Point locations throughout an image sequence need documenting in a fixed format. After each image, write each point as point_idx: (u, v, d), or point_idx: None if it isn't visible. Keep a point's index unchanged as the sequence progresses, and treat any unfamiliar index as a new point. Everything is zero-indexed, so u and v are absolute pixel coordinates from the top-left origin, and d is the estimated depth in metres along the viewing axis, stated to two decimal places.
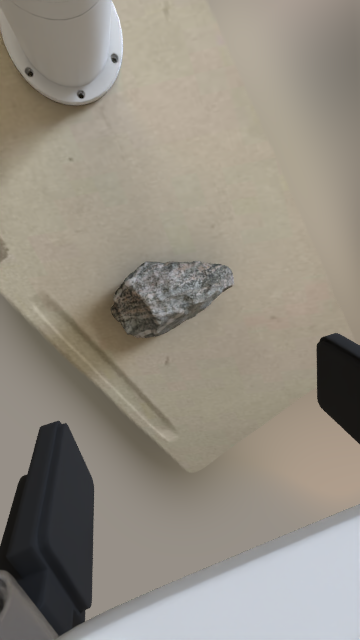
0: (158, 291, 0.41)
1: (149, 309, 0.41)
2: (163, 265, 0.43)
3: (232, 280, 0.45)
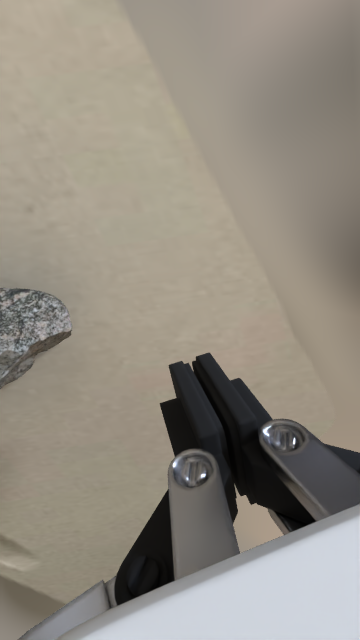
0: None
1: None
2: None
3: (64, 322, 0.22)
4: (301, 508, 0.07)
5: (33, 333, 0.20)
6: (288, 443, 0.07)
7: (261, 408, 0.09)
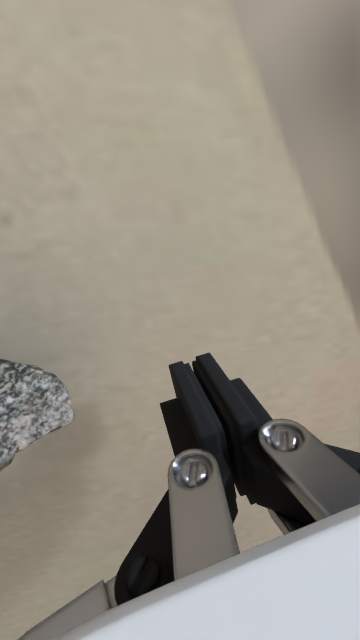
0: None
1: None
2: None
3: (61, 410, 0.13)
4: (301, 508, 0.07)
5: (6, 441, 0.11)
6: (288, 443, 0.07)
7: (261, 408, 0.09)
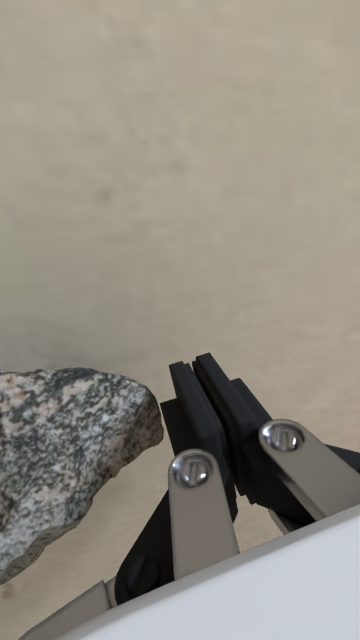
0: None
1: None
2: None
3: (152, 429, 0.11)
4: (301, 508, 0.07)
5: (100, 468, 0.10)
6: (288, 443, 0.07)
7: (261, 408, 0.09)
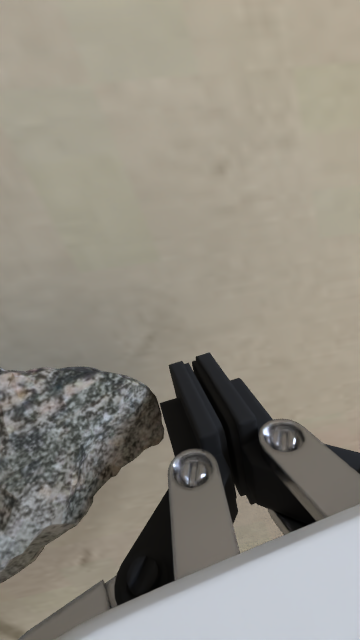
0: None
1: None
2: None
3: (153, 428, 0.11)
4: (301, 508, 0.07)
5: (100, 466, 0.10)
6: (288, 443, 0.07)
7: (261, 408, 0.09)
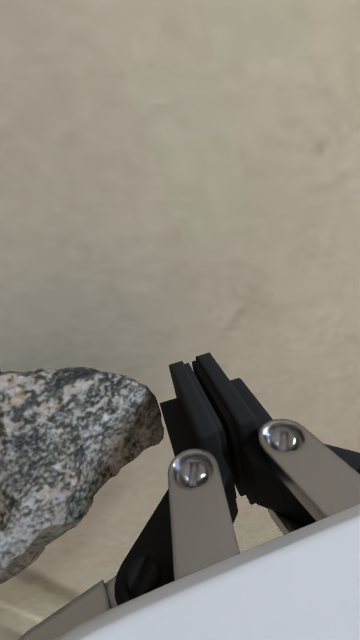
0: None
1: None
2: None
3: (153, 428, 0.11)
4: (301, 508, 0.07)
5: (100, 466, 0.10)
6: (288, 443, 0.07)
7: (261, 408, 0.09)
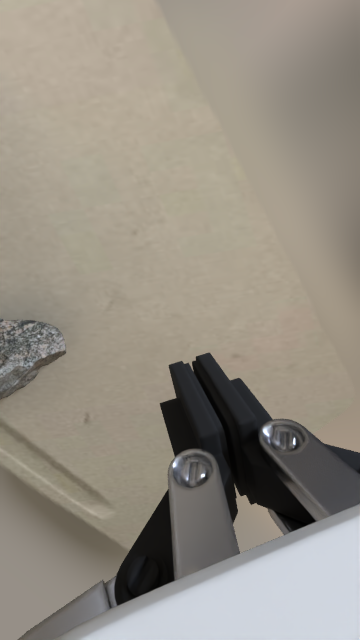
0: None
1: None
2: None
3: (60, 344, 0.29)
4: (301, 508, 0.07)
5: (37, 353, 0.28)
6: (288, 443, 0.07)
7: (261, 408, 0.09)
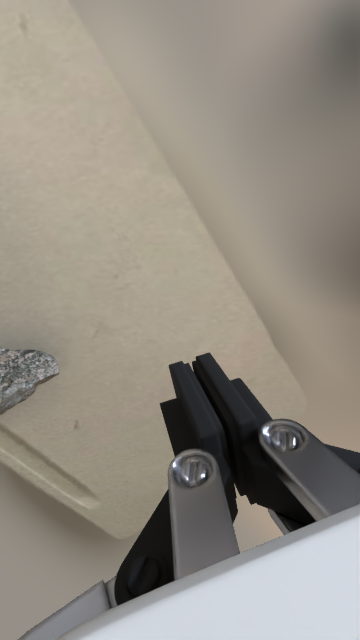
0: None
1: None
2: None
3: (54, 368, 0.37)
4: (301, 508, 0.07)
5: (35, 376, 0.35)
6: (288, 443, 0.07)
7: (261, 408, 0.09)
